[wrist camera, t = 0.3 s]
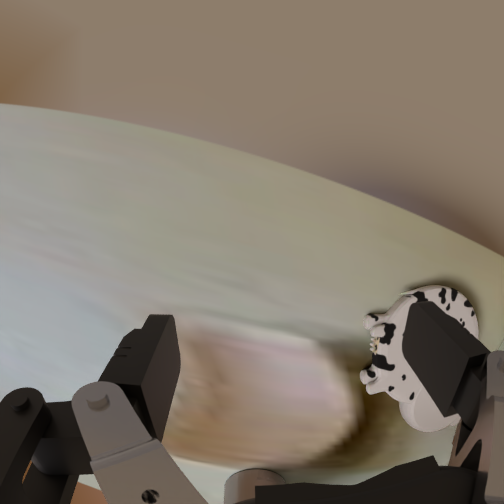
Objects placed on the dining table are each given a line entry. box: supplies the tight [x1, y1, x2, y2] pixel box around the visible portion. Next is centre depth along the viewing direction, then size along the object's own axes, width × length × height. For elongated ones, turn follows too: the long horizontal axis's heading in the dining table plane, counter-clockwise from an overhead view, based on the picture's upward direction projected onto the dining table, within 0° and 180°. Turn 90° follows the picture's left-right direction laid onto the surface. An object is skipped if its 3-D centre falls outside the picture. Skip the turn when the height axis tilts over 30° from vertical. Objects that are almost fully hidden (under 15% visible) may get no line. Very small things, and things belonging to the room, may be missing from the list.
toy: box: [360, 285, 478, 432], centre depth 35 cm, size 22×5×20 cm
